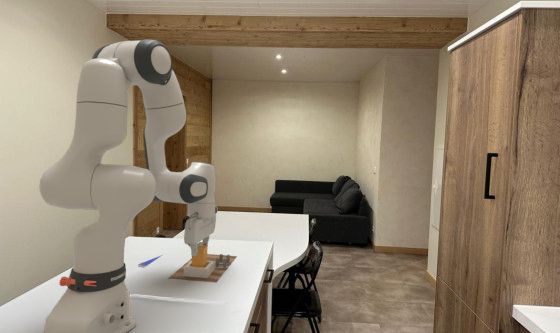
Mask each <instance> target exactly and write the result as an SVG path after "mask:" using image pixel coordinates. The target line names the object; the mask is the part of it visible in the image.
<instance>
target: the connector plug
mask: <svg viewBox="0 0 560 333" xmlns="http://www.w3.org/2000/svg"><path fill="white" fill-rule="evenodd" d="M208 247H209V245H203V241H200V242H198V245H197V250H198V255H197V256H192V255H191V258H192V266H193V267H206V266H207V254H208Z"/></svg>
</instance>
